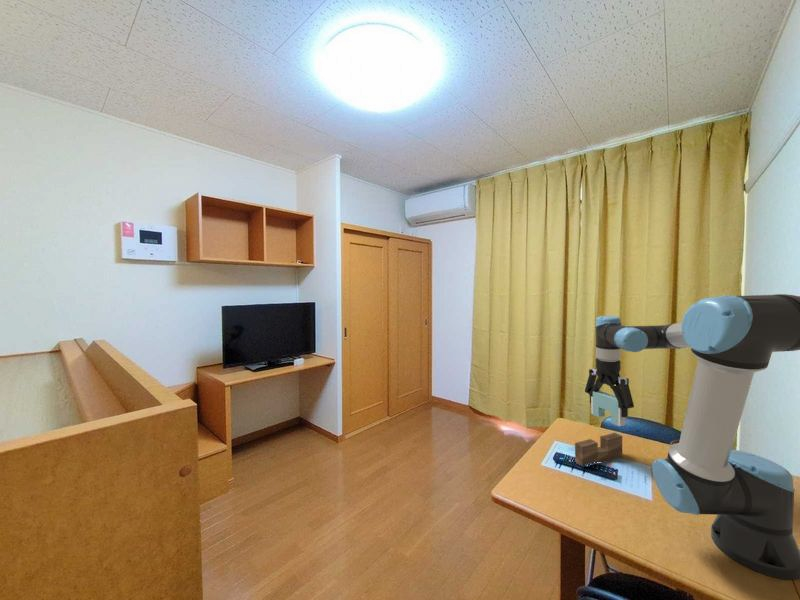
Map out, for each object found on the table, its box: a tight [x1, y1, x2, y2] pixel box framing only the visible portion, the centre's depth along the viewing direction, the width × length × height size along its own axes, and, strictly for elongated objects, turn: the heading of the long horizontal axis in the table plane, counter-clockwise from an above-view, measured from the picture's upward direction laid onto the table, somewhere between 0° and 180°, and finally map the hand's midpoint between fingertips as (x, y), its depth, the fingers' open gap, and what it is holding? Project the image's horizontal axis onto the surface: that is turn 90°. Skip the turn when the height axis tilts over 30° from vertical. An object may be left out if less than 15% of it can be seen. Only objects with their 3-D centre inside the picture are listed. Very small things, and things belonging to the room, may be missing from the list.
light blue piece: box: [592, 390, 624, 427], centre depth 116 cm, size 10×3×9 cm, turn 18°
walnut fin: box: [574, 432, 623, 466], centre depth 119 cm, size 3×20×8 cm, turn 109°
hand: (607, 418), depth 116 cm, fingers closed on light blue piece, 10 cm apart
